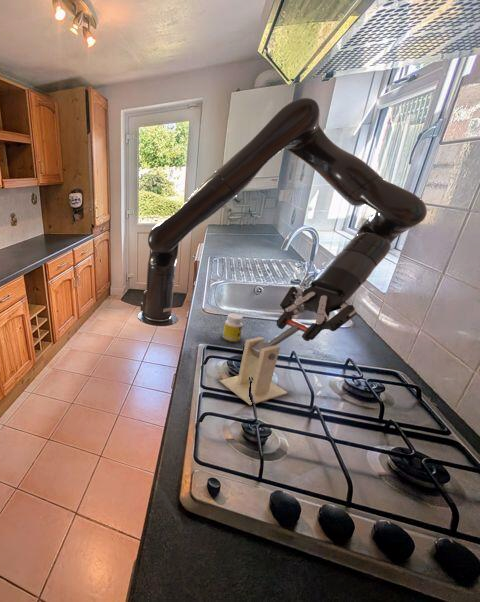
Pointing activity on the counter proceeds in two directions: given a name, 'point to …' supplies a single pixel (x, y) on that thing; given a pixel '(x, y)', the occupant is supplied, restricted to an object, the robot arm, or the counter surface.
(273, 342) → the lever
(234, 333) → the supplement bottle
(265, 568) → the counter surface
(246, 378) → the bracket
